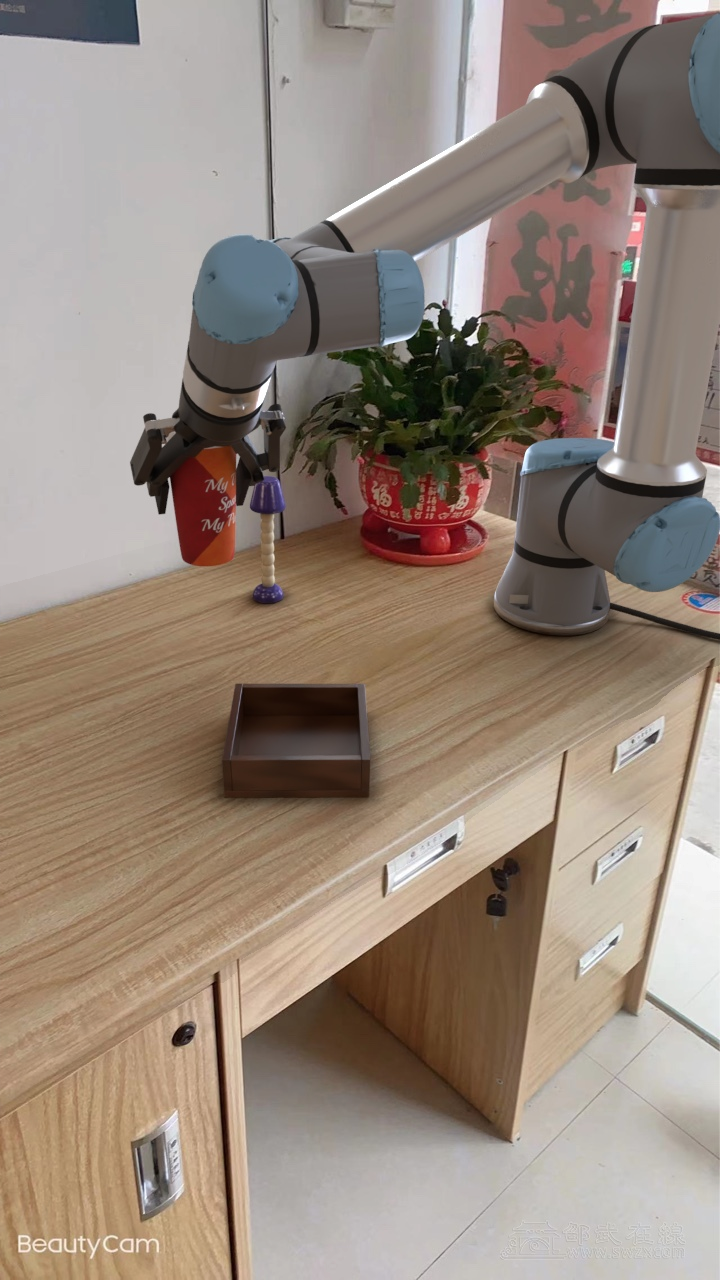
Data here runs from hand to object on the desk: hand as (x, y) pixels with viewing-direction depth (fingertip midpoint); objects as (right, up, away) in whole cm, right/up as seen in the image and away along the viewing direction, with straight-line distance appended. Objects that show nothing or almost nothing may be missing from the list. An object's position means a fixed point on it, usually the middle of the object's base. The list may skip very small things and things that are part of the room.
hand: (199, 499), depth 100 cm
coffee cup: (+1, -7, 0) cm, 7 cm away
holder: (+12, -28, -12) cm, 32 cm away
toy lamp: (+6, -10, +21) cm, 24 cm away
